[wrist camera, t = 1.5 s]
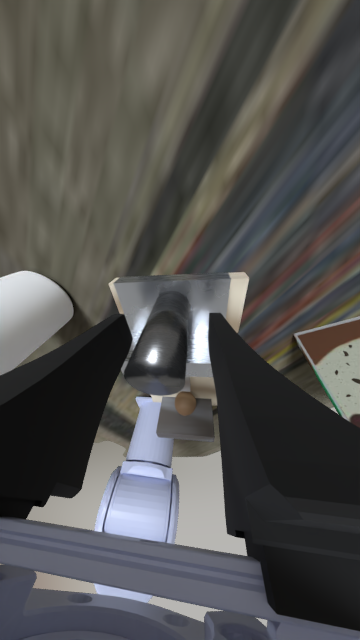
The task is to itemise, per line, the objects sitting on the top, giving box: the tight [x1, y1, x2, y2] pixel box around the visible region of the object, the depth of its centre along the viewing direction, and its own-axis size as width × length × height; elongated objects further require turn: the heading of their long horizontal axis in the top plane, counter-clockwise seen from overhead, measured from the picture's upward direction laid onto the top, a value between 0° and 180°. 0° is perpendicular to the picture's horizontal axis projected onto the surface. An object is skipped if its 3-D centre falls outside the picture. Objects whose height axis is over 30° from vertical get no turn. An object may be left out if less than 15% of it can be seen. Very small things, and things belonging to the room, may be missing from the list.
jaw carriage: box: [113, 272, 231, 396], centre depth 10 cm, size 6×8×7 cm
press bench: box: [109, 272, 249, 442], centre depth 17 cm, size 22×12×6 cm, turn 4°
